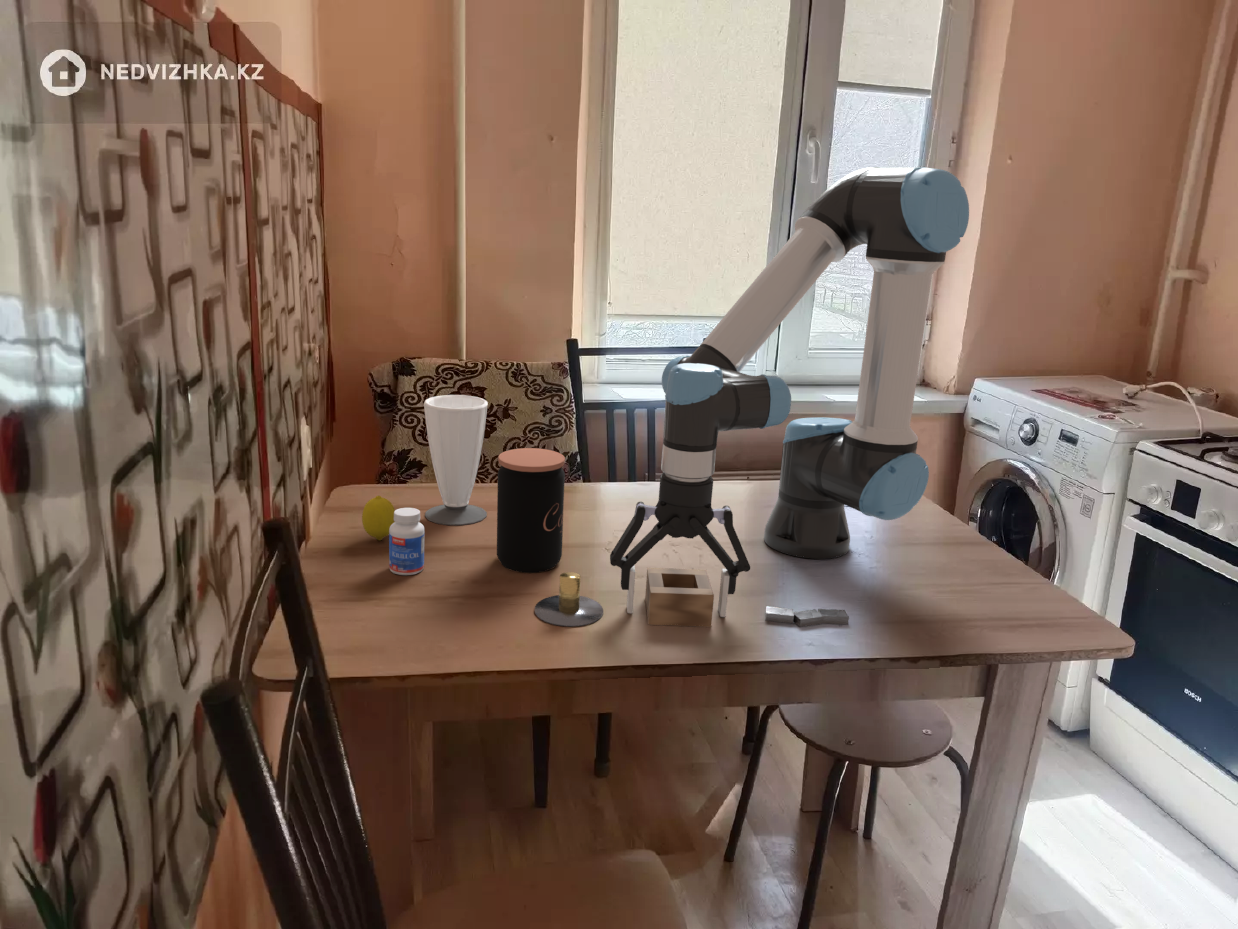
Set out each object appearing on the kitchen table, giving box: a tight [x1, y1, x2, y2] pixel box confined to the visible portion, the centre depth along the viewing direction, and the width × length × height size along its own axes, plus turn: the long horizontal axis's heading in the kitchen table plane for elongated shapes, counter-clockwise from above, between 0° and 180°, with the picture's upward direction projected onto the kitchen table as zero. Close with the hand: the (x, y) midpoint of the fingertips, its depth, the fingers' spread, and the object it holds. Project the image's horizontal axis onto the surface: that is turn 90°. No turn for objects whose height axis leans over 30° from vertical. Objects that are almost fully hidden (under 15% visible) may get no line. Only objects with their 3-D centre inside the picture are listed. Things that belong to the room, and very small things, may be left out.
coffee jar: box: [496, 447, 566, 574], centre depth 148 cm, size 11×11×18 cm
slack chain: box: [764, 605, 850, 628], centre depth 134 cm, size 12×4×1 cm, turn 92°
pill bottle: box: [388, 507, 425, 576], centre depth 144 cm, size 6×5×10 cm
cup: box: [423, 394, 489, 526], centre depth 167 cm, size 12×12×22 cm
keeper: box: [534, 571, 604, 628], centre depth 133 cm, size 10×10×6 cm
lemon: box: [361, 495, 396, 541], centre depth 155 cm, size 6×6×8 cm
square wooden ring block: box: [644, 567, 715, 628], centre depth 135 cm, size 9×9×5 cm
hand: (675, 611), depth 135 cm, fingers open, 13 cm apart
